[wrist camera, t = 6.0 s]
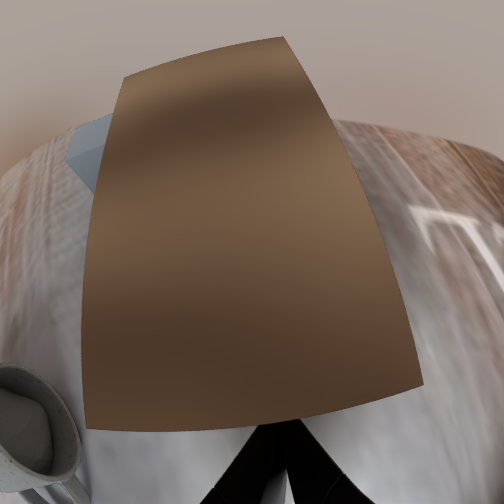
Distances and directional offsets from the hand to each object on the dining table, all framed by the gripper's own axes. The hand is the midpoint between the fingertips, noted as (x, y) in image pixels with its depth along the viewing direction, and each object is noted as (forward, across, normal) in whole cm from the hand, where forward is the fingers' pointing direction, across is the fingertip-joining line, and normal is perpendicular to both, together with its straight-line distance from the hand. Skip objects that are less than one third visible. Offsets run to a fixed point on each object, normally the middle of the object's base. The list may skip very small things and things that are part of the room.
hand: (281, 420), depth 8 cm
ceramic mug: (+3, -17, -7) cm, 18 cm away
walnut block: (+10, -1, 0) cm, 10 cm away
